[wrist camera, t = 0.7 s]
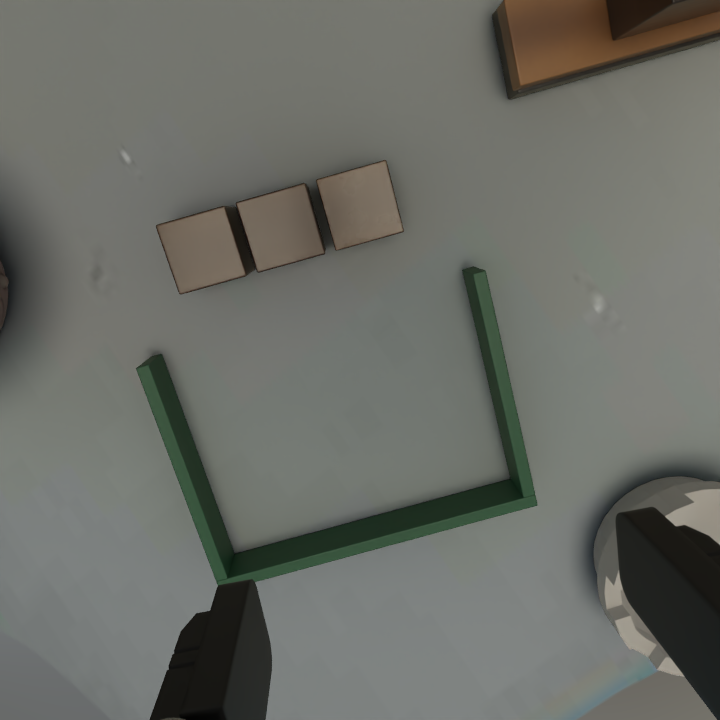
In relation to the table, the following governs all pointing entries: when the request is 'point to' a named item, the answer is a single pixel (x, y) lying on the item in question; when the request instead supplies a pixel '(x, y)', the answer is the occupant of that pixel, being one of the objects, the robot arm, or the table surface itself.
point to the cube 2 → (281, 227)
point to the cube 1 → (206, 248)
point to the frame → (361, 532)
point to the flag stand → (669, 496)
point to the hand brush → (593, 37)
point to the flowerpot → (3, 295)
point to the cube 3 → (360, 205)
